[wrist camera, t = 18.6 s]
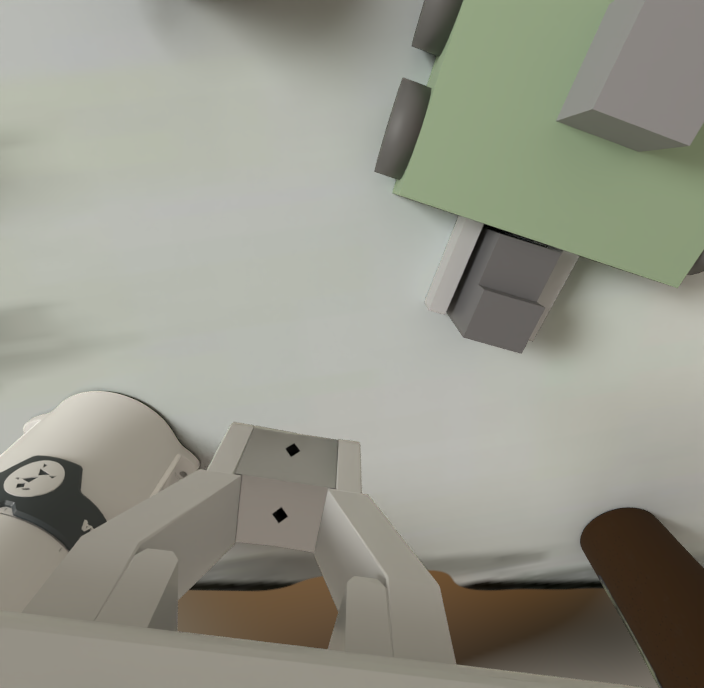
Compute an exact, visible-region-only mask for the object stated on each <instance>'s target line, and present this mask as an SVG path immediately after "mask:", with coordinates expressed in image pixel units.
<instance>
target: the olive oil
mask: <svg viewBox="0 0 704 688" xmlns="http://www.w3.org/2000/svg"><path fill="white" fill-rule="evenodd" d="M580 543H581V547H582V550H583V552H584V553H585V555H586V557H587V559H588V560H589V562H590V564H591V566H592V567H593V569H594V571H595V573H596V574H597V576H598V578H599V580H600V582H601V583H602V585H603V587H604V589H605V590H606V592H607V594H608V596H609V598H610V599H611V601H612V603H613V604H614V607H615V608H616V610H617V612H618V614H619V616H620V617H621V619H622V621H623V623H624V624H625V627H626V628H627V630H628V632H629V634H630V635H631V637H632V639H633V641H634V643H635V645H636V646H637V648H638V650H639V652H640V654H641V656H642V657H643V659H644V661H645V663H646V665H647V667H648V669H649V670H650V672H651V674H652V676H653V678H654V679H655V681H656V683H657V685H658V687H659V688H704V568H703V567H702V566H701V565H700V564H699V563H698V562H697V561H696V560H695V559H694V558H693V557H692V555H691V554H690V553H689V552H688V551H687V550H686V549H685V548H684V547H683V546H682V545H681V544H680V543H679V542H678V541H677V540H676V538H675V537H674V536H673V535H672V534H671V533H670V532H669V531H668V530H667V529H666V528H665V527H664V526H663V525H662V523H661V522H660V521H659V520H658V519H657V518H656V517H655V516H654V515H652V514H651V513H649V512H647V511H645V510H642V509H637V508H620V509H615V510H611V511H608V512H606V513H604V514H601V515H600V516H598V517H596V518H595V519H593V520H592V521H591V522H590V523H589V524H588V525H587V526H586V527H585V529H584V530H583V532H582V535H581V539H580Z"/></svg>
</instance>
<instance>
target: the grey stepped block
mask: <svg viewBox="0 0 704 688" xmlns="http://www.w3.org/2000/svg"><path fill="white" fill-rule="evenodd" d="M561 254H562V253H561V252H558V251H555V250H552V249H549V248H546V247H543V246H540V245H537V244H535V243H531V242H528V241H525V240H522V239H519V238H515V237H512V236H509V235H506V234H503V233H499V232H496V231H493V230H490V229H486V228H483V227H482V230H481V232H480V234H479V237H478V239H477V241H476V244H475V246H474V248H473V251H472V253H471V255H470V258H469V260H468V262H467V265H466V267H465V269H464V271H463V274H462V276H461V278H460V281H459V283H458V285H457V288H456V290H455V292H454V295H453V297H452V299H451V302H450V304H449V306H448V309H447V311H446V312H447V314H448V315H449V317H450V318H451V320H452V321H453V323H454V324H455V326H456V327H457V329H458V330H459V332H460V333H461V335H462V336H463V337H464V338H467V339H471V340H475V341H478V342H482V343H485V344H489V345H492V346H496V347H500V348H503V349H507V350H510V351H514V352H517V353H521V354H522V352H523V350H524V348H525V346H526V344H527V342H528V340H529V338H530V336H531V335H532V333H533V331H534V329H535V327H536V325H537V323H538V321H539V319H540V317H541V315H542V314H543V312H544V310H545V307H544V306H542V305H541V304H539V303H538V302H537V301H538V299H539V297H540V295H541V293H542V291H543V289H544V287H545V285H546V283H547V281H548V279H549V277H550V275H551V273H552V271H553V269H554V267H555V265H556V263H557V261H558V259H559V257H560V255H561Z"/></svg>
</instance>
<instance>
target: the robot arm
mask: <svg viewBox="0 0 704 688" xmlns="http://www.w3.org/2000/svg"><path fill="white" fill-rule="evenodd" d="M23 432H24V435H23V436H22V437H21V438H19V439H18V440H17V441H16V442H15V443H14V444H13V445H12V446H11V447H9V448H8V449H7V450H6V451H5V452H4V453H3V454H2V455H1V456H0V688H647V687H639V686H630V685H622V684H614V683H605V682H597V681H588V680H580V679H572V678H563V677H555V676H547V675H537V674H530V673H522V672H513V671H505V670H496V669H488V668H479V667H472V666H463V665H456V661H455V657H454V652H453V647H452V643H451V638H450V633H449V628H448V624H447V619H446V614H445V610H444V605H443V600H442V596H441V591H440V586H439V585H438V584H437V582H436V581H435V580H434V578H433V577H432V576H431V574H430V573H429V572H428V571H427V569H426V568H425V567H424V565H423V564H422V563H421V562H420V560H419V559H418V558H417V556H416V555H415V554H414V553H413V551H412V550H411V549H410V548H409V546H408V545H407V544H406V542H405V541H404V540H403V539H402V537H401V536H400V535H399V533H398V532H397V531H396V530H395V528H394V527H393V526H392V524H391V523H390V522H389V521H388V519H387V518H386V517H385V515H384V514H383V513H382V512H381V510H380V509H379V508H378V506H377V505H376V504H375V503H374V501H373V500H372V499H371V498H370V496H369V495H368V494H362V485H361V451H360V443H359V442H357V441H349V440H341V439H338V440H336V439H330V438H323V437H317V436H311V435H304V434H298V433H294V432H288V431H283V430H278V429H272V428H267V427H261V426H254V425H249V424H243V423H237V422H233V423H232V424H231V425H230V426H229V428H228V430H227V432H226V434H225V436H224V438H223V440H222V442H221V443H220V445H219V447H218V449H217V451H216V453H215V455H214V457H213V459H212V461H211V463H210V464H209V466H208V468H207V470H202V469H199V466H200V463H199V460H198V459H197V458H196V457H195V456H194V455H193V454H192V453H191V452H190V451H188V450H187V449H186V448H185V447H183V446H182V445H181V444H180V442H179V441H178V439H177V438H176V436H175V434H174V433H173V431H172V430H171V428H170V427H169V425H168V424H167V423H166V422H165V421H164V420H163V419H162V418H161V417H160V416H159V415H158V414H157V413H156V412H154V411H153V410H152V409H150V408H149V407H147V406H146V405H144V404H142V403H141V402H139V401H137V400H135V399H132V398H130V397H127V396H124V395H121V394H117V393H112V392H106V391H89V392H83V393H79V394H76V395H73V396H71V397H69V398H67V399H65V400H64V401H63V402H61V403H60V404H59V405H58V406H57V407H56V408H55V409H54V410H53V411H51V412H50V413H46V414H42V415H39V416H36V417H33V418H32V419H30V420H29V421H28V422H27V423H26V424H25V425H24V427H23ZM198 469H199V470H198ZM183 471H184V472H183ZM185 472H186V473H185ZM235 542H241V543H251V544H260V545H269V546H277V547H283V548H289V549H295V550H301V551H307V552H313V553H314V556H315V559H316V561H317V563H318V566H319V568H320V570H321V573H322V575H323V577H324V579H325V582H326V584H327V587H328V589H329V591H330V593H331V596H332V598H333V600H334V603H335V605H336V607H337V610H338V616H337V619H336V623H335V626H334V630H333V633H332V637H331V640H330V644H329V647H328V649H320V648H311V647H302V646H294V645H285V644H277V643H269V642H260V641H253V640H243V639H236V638H227V637H219V636H211V635H202V634H193V633H186V632H178V631H177V616H178V613H177V612H178V600H179V599H180V598H181V597H182V596H183V595H184V594H185V593H186V592H187V591H188V590H189V589H190V588H191V587H192V586H193V585H194V584H195V583H196V582H197V581H198V580H199V579H200V578H201V577H202V576H203V575H204V574H205V573H206V572H207V571H208V570H209V569H210V568H211V567H212V566H213V565H214V564H215V563H216V562H217V561H218V560H219V559H220V558H221V557H222V556H223V555H224V554H225V553H226V552H227V551H228V550H229V549H230V548H231V547H233V546H234V545H235Z"/></svg>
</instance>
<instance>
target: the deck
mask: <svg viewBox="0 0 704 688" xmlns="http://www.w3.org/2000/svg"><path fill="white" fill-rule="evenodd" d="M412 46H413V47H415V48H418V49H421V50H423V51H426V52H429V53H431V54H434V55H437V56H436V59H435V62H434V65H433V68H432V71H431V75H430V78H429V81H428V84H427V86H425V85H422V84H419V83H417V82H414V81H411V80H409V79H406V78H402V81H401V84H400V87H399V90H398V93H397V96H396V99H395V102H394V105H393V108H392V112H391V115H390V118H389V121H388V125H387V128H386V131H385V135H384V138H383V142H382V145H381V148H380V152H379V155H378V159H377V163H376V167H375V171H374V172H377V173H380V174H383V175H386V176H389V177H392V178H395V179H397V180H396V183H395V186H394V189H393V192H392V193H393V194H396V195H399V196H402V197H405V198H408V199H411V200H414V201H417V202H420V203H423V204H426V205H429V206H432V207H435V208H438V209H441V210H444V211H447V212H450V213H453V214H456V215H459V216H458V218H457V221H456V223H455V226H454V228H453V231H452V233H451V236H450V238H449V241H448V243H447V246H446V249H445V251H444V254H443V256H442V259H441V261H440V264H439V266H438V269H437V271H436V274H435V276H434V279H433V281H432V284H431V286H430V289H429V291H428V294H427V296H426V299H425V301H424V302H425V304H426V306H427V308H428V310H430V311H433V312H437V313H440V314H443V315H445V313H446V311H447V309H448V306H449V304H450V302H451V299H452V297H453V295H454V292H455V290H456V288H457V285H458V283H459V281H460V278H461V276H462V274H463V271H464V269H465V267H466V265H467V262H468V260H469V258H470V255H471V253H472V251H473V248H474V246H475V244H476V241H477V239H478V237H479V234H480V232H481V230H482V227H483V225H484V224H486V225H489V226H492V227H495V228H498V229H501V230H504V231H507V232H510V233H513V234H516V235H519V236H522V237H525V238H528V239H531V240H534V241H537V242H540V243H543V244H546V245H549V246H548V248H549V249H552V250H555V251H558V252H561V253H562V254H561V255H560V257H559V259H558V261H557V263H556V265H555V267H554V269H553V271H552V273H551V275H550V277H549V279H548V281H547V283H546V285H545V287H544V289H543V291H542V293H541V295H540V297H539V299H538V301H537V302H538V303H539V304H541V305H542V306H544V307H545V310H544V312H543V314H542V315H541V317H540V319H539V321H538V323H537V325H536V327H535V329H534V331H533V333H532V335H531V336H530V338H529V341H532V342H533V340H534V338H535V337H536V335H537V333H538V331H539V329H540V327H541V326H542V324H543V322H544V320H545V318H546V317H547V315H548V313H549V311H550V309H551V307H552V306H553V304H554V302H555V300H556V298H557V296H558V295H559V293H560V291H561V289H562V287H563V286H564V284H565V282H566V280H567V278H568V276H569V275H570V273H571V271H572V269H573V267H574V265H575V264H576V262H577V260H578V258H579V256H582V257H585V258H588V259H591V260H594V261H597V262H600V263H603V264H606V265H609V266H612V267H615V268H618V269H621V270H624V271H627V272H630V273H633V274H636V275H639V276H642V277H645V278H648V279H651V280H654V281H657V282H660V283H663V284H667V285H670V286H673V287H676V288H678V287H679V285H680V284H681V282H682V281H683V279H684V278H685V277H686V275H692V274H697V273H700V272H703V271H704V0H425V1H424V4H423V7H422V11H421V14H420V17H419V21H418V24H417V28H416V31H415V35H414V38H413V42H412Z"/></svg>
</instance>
